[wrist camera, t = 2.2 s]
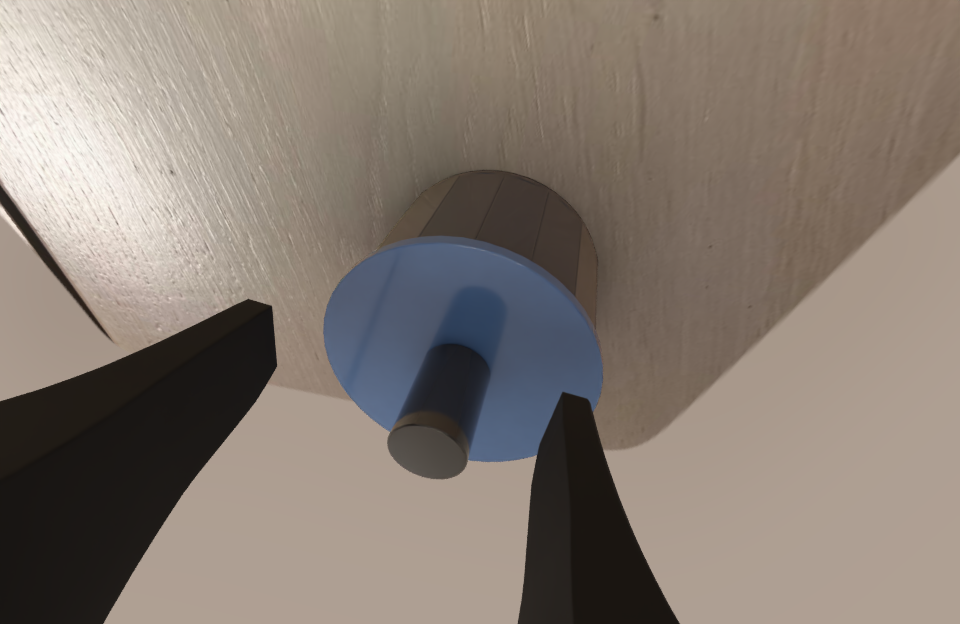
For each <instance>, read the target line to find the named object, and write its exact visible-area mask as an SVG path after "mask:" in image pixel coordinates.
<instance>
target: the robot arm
mask: <svg viewBox="0 0 960 624" xmlns="http://www.w3.org/2000/svg"><path fill="white" fill-rule="evenodd" d="M276 367H277V359H276V347H275V336H274V324H273V312H272V306H270V305H267V304H263V303H260V302H257V301H253V300H250V299H247V300H245V301H243V302H241V303H238V304H236V305H234V306H232V307H230V308H228V309H226V310H224V311H222V312H220V313H218V314H216V315H214V316H212V317H210V318H208V319H206V320H204V321H202V322H200V323H198V324H196V325H194V326H192V327H189V328H187V329H185V330H183V331H181V332H179V333H177V334H175V335H173V336H171V337H169V338H167V339H164V340H162V341H160V342H158V343H156V344H154V345H151V346H149V347H147V348H144V349H142V350H140V351H138V352H135V353H133V354H131V355H129V356H126V357H124V358H122V359H119V360H117V361H115V362H112V363H110V364H108V365H105V366H103V367H100V368H98V369H95V370H93V371H90V372H87V373H85V374H82V375H79V376H76V377H74V378H71V379H68V380H65V381H62V382H60V383H57V384H54V385H51V386H48V387H46V388H42V389H39V390H36V391H33V392H30V393H26V394H23V395H20V396H16V397H13V398H10V399H7V400H3V401H0V624H103V623H104V621H105V620H106V618H107V616H108V614H109V612H110V611H111V609H112V607H113V606H114V604H115V602H116V601H117V599H118V597H119V595H120V594H121V592H122V590H123V589H124V587H125V585H126V583H127V582H128V580H129V578H130V576H131V575H132V573H133V571H134V570H135V568H136V566H137V565H138V563H139V562H140V560H141V558H142V557H143V555H144V553H145V552H146V550H147V549H148V547H149V545H150V544H151V542H152V541H153V539H154V537H155V536H156V534H157V533H158V531H159V529H160V528H161V526H162V525H163V523H164V522H165V520H166V519H167V517H168V516H169V514H170V513H171V511H172V509H173V508H174V507H175V505H176V503H177V502H178V501H179V499H180V498H181V496H182V495H183V493H184V492H185V490H186V489H187V488H188V486H189V485H190V483H191V482H192V481H193V480H194V478H195V477H196V476H197V474H198V473H199V472H200V471H201V469H202V468H203V467H204V465H205V464H206V463H207V462H208V460H209V459H210V458H211V457H212V456H213V454H214V453H215V452H216V451H217V449H218V448H219V447H220V446H221V445H222V443H223V442H224V441H225V440H226V438H227V437H228V436H229V435H230V433H231V432H232V431H233V430H234V428H235V427H236V426H237V425H238V423H239V422H240V421H241V420H242V418H243V417H244V416H245V415H246V413H247V412H248V411H249V410H250V408H251V407H252V406H253V404H254V403H255V402H256V400H257V399H258V397H259V396H260V394H261V392H262V391H263V389H264V388H265V386H266V384H267V383H268V381H269V379H270V378H271V376H272V374H273V372H274V371H275V369H276ZM518 624H680V623H679V621H678V620H677V618H676V616H675V615H674V613H673V611H672V610H671V608H670V606H669V604H668V602H667V601H666V598H665V597H664V595H663V593H662V591H661V589H660V587H659V585H658V583H657V581H656V579H655V577H654V575H653V573H652V571H651V569H650V567H649V565H648V563H647V561H646V559H645V557H644V555H643V553H642V551H641V548H640V546H639V544H638V542H637V540H636V537H635V535H634V533H633V530H632V528H631V526H630V523H629V521H628V518H627V516H626V514H625V511H624V509H623V506H622V503H621V501H620V498H619V496H618V493H617V490H616V487H615V484H614V482H613V479H612V476H611V473H610V470H609V467H608V464H607V461H606V458H605V455H604V452H603V448H602V445H601V441H600V438H599V435H598V431H597V427H596V423H595V419H594V415H593V411H592V407H591V403H590V401H589V400H588V399H587V398H583V397H580V396H576V395H573V394H570V393H566V392H562V394H561V396H560V398H559V401H558V403H557V405H556V408H555V410H554V412H553V414H552V417H551V419H550V421H549V424H548V426H547V428H546V430H545V433H544V435H543V437H542V440H541V442H540V444H539V448H538V453H537V459H536V464H535V469H534V474H533V480H532V485H531V497H530V510H529V522H528V535H527V548H526V562H525V574H524V584H523V593H522V601H521V607H520V613H519V619H518Z"/></svg>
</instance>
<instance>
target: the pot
mask: <svg viewBox="0 0 960 624" xmlns="http://www.w3.org/2000/svg"><path fill="white" fill-rule="evenodd" d="M424 236H453V237H464V238H469V239H474V240H479V241H484V242H487V243H491V244H494V245H497V246H500V247H503V248H506V249H508V250H510V251H512V252H515V253H517V254H519V255H521V256H524V257H525V258H527V259H529V260H530V261H532V262H534V263H535V264H537V265H539V266H540V267H542V268H544V269H545V270H546V271H547V272H549V273H550V274H551V275H553V276H554V277H555V278H556V279H558V280H559V281H560V282H561V283H562V284H563V285H564V286H565V287H566V288H567V289H568V290H569V291H570V292H571V293H572V294H573V295H574V296H575V298H576V299H577V300H578V301H579V303H580V304H581V305H582V307H583V308H584V309H585V311H586V312H587V314H588V316H589V318H590V320H591V321H592V323H593V325H594V327H595V330H596V303H597V272H598V259H597V255H596V253H595V248H594V245H593V242H592V239H591V236H590V234H589V232H588V230H587V228H586V226H585V224H584V222H583V221H582V220H581V218H580V217H579V215H578V214H577V212H576V211H575V210H574V209H573V208H572V207H571V206H570V205H569V204H568V203H567V202H566V201H565V200H564V199H563V198H561V197H560V196H559V195H558V194H557V193H555V192H554V191H552V190H551V189H549V188H547V187H546V186H544V185H543V184H540V183H538V182H536V181H534V180H532V179H530V178H527V177H524V176H520V175H517V174H514V173H508V172H503V171H490V170H482V171H470V172H466V173H461V174H457V175H454V176H451V177H449V178H446V179H444V180H442V181H440V182H438V183H436V184H435V185H433V186H431V187H430V188H429V189H427V190H425V191H424V192H422V193H421V194H420V196H419V197H418V198H417V199H416V200H415V202H414V203H413V204H412V205H411V206H410V208H409V209H408V210H407V211H406V213H405V214H404V215H403V216H402V217H401V219H400V220H399V221H398V222H397V224H396V225H395V226H394V228H393V229H392V230H391V231H390V233H389V234H388V235H387V236H386V238H385V239H384V240H383V242H382V243H381V244H380V245H379V247H378V248H377V249H379V248H381V247H383V246H386V245H389V244H392V243H395V242H398V241H401V240H406V239H411V238H417V237H424ZM377 249H376V250H377Z"/></svg>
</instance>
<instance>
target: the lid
mask: <svg viewBox="0 0 960 624" xmlns="http://www.w3.org/2000/svg"><path fill="white" fill-rule="evenodd" d="M323 334H324V342H325V348H326V352H327V356H328V359H329V362H330V364H331V367H332V369H333V371H334V374H335V375H336V377H337V379H338V381H339V382H340V384H341V386H342V387H343V388H344V390H345V391H346V392H347V394H348V395H349V397H350V398H351V399H352V400H353V401H354V402H355V403H356V404H357V405H358V407H359V408H360V409H361V410H362V411H364V412H365V413H366V414H367V415H368V416H369V417H370V418H371V419H373V420H374V421H375V422H377V423H378V424H379V425H381V426H382V427H383V428H385V429H386V430H388V431H389V432H390V434H389V436H388V441H387V444H388V449H389V452H390V454H391V456H392V457H393V458H394V460H395V461H396V462H397V463H398V464H400V465H401V466H402V467H403V468H405V469H406V470H408V471H410V472H412V473H414V474H416V475H419V476H422V477H426V478H430V479H448V478H452V477H455V476H457V475H459V474H460V473H461V472H462V471H463V470H464V469H465V467H466V465H467V462H468V460H470V461H482V462H503V461H511V460H519V459H524V458H528V457H532V456H535V455H537V453H538V448H539V444H540V442H541V440H542V437H543V435H544V433H545V430H546V428H547V426H548V424H549V421H550V419H551V417H552V414H553V412H554V410H555V408H556V405H557V403H558V401H559V398H560V396H561V394H562V392H566V393H570V394H573V395H576V396H580V397H583V398H587V399H588V400H589V401H590V403H591V407H592V411H594V409H595V408H596V405H597V403H598V400H599V397H600V394H601V389H602V383H603V355H602V350H601V345H600V341H599V338H598V335H597V333H596V330H595V327H594V325H593V323H592V321H591V320H590V318H589V316H588V314H587V312H586V311H585V309H584V308H583V307H582V305H581V304H580V303H579V301H578V300H577V299H576V298H575V296H574V295H573V294H572V293H571V292H570V291H569V290H568V289H567V288H566V287H565V286H564V285H563V284H562V283H561V282H560V281H559V280H558V279H556V278H555V277H554V276H553V275H551V274H550V273H549V272H547V271H546V270H545V269H544V268H542V267H540V266H539V265H537V264H535V263H534V262H532V261H530V260H529V259H527V258H525V257H524V256H521V255H519V254H517V253H515V252H512V251H510V250H508V249H506V248H503V247H500V246H497V245H494V244H491V243H487V242H484V241H479V240H474V239H469V238H464V237H453V236H424V237H417V238H411V239H406V240H401V241H398V242H395V243H392V244H389V245H386V246H383V247H381V248H379V249H377V250H376V251H374V252H372V253H370V254H368V255H367V256H365V257H364V258H363V259H361V260H360V261H359V262H357V263H356V264H355V265H354V266H353V267H352V268H351V269H350V270H349V271H348V272H347V273H346V274H345V276H344V277H343V278H342V279H341V281H340V282H339V284H338V285H337V287H336V288H335V290H334V291H333V293H332V295H331V297H330V300H329V302H328V304H327V308H326V313H325V317H324V332H323Z"/></svg>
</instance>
